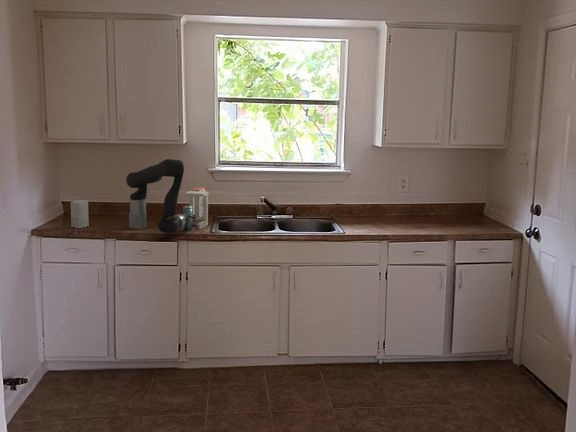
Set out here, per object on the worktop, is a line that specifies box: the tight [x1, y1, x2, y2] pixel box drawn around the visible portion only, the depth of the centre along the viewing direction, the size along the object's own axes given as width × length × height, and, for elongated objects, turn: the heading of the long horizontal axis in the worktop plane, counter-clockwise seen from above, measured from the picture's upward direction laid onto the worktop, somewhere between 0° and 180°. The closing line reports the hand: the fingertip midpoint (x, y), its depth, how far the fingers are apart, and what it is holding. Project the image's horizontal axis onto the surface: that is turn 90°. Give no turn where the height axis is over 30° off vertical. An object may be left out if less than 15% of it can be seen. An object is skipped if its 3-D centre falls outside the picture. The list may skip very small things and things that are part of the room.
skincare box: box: [70, 199, 90, 229], centre depth 342 cm, size 8×7×16 cm
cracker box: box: [190, 186, 208, 219], centre depth 376 cm, size 14×6×21 cm, turn 168°
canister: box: [182, 205, 193, 232], centre depth 344 cm, size 5×5×14 cm
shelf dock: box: [181, 190, 210, 230], centre depth 355 cm, size 16×12×21 cm
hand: (189, 216), depth 346 cm, fingers closed on canister, 5 cm apart
